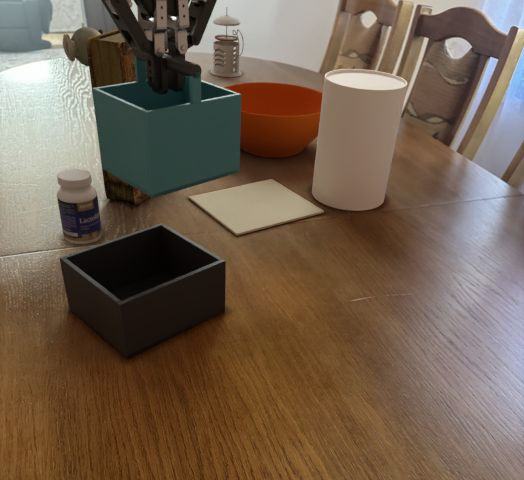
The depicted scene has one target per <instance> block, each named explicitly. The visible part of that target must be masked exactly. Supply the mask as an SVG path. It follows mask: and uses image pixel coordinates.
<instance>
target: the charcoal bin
mask: <svg viewBox="0 0 524 480" xmlns="http://www.w3.org/2000/svg"><path fill="white" fill-rule="evenodd" d="M58 259H59V263H60V264H59V265H60V269H61V274H62V275H61V276H62V278H63V284H64V289H65V294H66V299H67V305H68V310H69V311H70V312H71V313H72V314H74V315H75V316H76V317H77V318H78V319H79V320H81V322H83V323H84V324H85V325H86V326H87V327H89V328H90V329H91V330H92V331H93V332H94V333H95V334H97V335H98V336H99V337H100V338H102V339H103V340H104V341H105V342H106V343H107V344H108V345H110V346H111V347H112V348H113V349H114V350H116V351H117V352H118V353H119V354H120V355H121V356H122V357H123V358H124V359H126V360H130V359H131V358H133V357H135V356H138V355H140V354H142V353H143V352H145V351H147V350H150V349H152V348H153V347H156V346H157V345H160V344H162V343H164V342H166V341H168V340H170V339H172V338H175V337H176V336H178V335H180V334H182V333H184V332H186V331H189V330H190V329H193V328H195V327H197V326H200V325H201V324H203V323H205V322H207V321H209V320H211V319H213V318H215V317H217V316H219V315H221V314H224V313H226V279H227V278H226V275H227V272H226V269H227V260H226V259H224V258H222V257H220V256H218V255H217V254H215V253H214V252H212V251H210V250H208V249H207V248H206V247H204V246H202V245H200V244H199V243H198V242H197V243H196V242H195V241H193V240H192V239H190V238H189V237H188V236H186V235H184V234H182V233H180V232H178V231H177V230H175V229H173V228H172V227H170V226H168V225H166V224H165V223H163V222H160V223H157V224H154V225H150V226H148V227H145V228H143V229H140V230H137V231H134V232H131V233H128V234H125V235H122V236H119V237H116V238H113V239H110V240H107V241H104V242H101V243H98V244H95V245H93V246H89V247H86V248H84V249H81V250H78V251H75V252H72V253H69V254H66V255H63V256H60V257H59V258H58Z"/></svg>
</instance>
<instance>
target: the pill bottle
mask: <svg viewBox="0 0 524 480" xmlns="http://www.w3.org/2000/svg"><path fill="white" fill-rule="evenodd" d="M56 179H57V184H58V185H59V188H58V189H57V192H56V199H57V204H58V211H59V217H60V223H61V229H62V234H63V238H64V239H65V240H66V241H67V242H69V243H71V244H75V245H88V244H92V243H95V242H97V241H99V240H100V239H101V237H102V236H103V228H102V220H101V213H100V206H99V197H98V191H97V190H96V188H95V187H94V186H93V185H92V182H93V179H92V174H91V172H90V171H88V170H86V169H82V168H67V169H63V170H60V171H59V172H58V173H57V174H56Z"/></svg>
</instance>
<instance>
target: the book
mask: <svg viewBox="0 0 524 480" xmlns="http://www.w3.org/2000/svg"><path fill="white" fill-rule="evenodd" d="M164 39H165V36H164ZM167 51H168V49H167V48H166V46H165V52H167ZM87 54H88V62H89V66H88V68H89V69H88V70H89V76H90V85H91V89H92V88H96V87H102V86H109V85H115V84H122V83H128V82H134V81H136V75H135V63H134V55H133V48H130V47H129V46H128V45H127V43H126V41H125V40H124V38H123V36H122V35H121V33H120V31H119V29H118V28H117V29H114V30H111V31H107V32H103V34H101V35H97V36H94V37H90V38H88V39H87ZM145 62H146V61H145ZM146 76H147V69H146ZM97 140H98V139H97ZM98 142H99V140H98ZM98 148H99V147H98ZM99 150H100V148H99ZM101 172H102V179H103V187H104V193H105V197H106V200H109V201H110V200H122V201H127V202H129V203H131V204H133V205H134V206H137V205H139V204H141V203H143V202H144V201H145V200H146V199H147V198H149V197H150V196H149V195H147V194H145V193H143V192H142V191H140V190H138V189H137V188H135V187H133V186H131V185H130V184H128V183H126V182H125V181H123V180H121V179H119V178H118V177H116V176H114V175H113V174H111V173H109V172H107V171H106V170H104V169H102V168H101Z"/></svg>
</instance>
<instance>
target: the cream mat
mask: <svg viewBox="0 0 524 480" xmlns="http://www.w3.org/2000/svg"><path fill="white" fill-rule="evenodd" d="M188 199H189V200H190V201H191V202H192V203H194V204H195V205H196V206H198V207H199V208H200V209H201V210H203V211H204V212H205V213H207V214H208V215H209V216H211V217H212V218H213V219H214V220H215V221H217V222H218V223H219V224H221V225H222V226H223V227H224V228H226V229H227V230H228V231H230V232H231V233H233V234H234V235H235V236H236V237H238V236H241V235H246V234H250V233H253V232H258V231H260V230H265V229H268V228H272V227H276V226H279V225H284V224H287V223H291V222H295V221H299V220H302V219H306V218H310V217H314V216H317V215H322V214H324V213H325V210H324V209H322V208H321V207H318V206H317V205H315V204H314V203H312V202H311V201H309V200H307V199H306V198H304V197H303V196H301V195H299V194H298V193H296V192H294V191H292V190H291V189H290V188H287V187H286V186H284V185H282V184H281V183H280V182H278V181H276V180H275V179H273V178H269V179H264V180H260V181H255V182H250V183H245V184H241V185H237V186H232V187H228V188H223V189H218V190H213V191H209V192H204V193H199V194H195V195H189V196H188Z"/></svg>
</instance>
